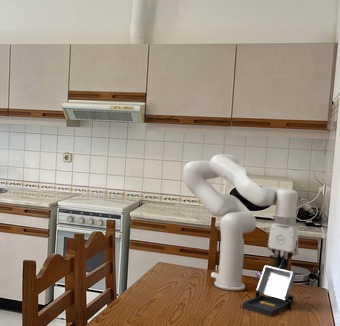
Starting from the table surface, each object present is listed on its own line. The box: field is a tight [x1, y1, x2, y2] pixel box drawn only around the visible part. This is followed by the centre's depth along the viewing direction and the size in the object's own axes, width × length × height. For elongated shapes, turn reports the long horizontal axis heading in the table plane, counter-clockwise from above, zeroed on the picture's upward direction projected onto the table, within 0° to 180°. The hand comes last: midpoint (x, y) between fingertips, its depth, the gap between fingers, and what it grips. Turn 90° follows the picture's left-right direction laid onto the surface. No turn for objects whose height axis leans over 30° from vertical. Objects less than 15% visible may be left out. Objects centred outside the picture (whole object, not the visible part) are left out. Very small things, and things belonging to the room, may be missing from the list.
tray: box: [242, 294, 288, 317], centre depth 185 cm, size 11×15×2 cm
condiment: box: [267, 254, 276, 273], centre depth 218 cm, size 7×8×12 cm
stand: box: [254, 290, 294, 310], centre depth 192 cm, size 13×10×3 cm
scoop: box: [256, 254, 296, 301], centre depth 191 cm, size 11×17×4 cm
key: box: [260, 301, 276, 307], centre depth 187 cm, size 6×2×1 cm, turn 51°
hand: (281, 267), depth 192 cm, fingers closed on scoop
